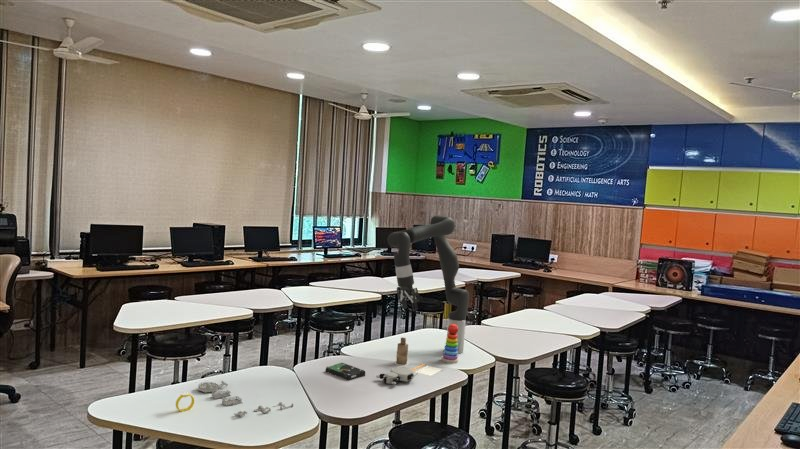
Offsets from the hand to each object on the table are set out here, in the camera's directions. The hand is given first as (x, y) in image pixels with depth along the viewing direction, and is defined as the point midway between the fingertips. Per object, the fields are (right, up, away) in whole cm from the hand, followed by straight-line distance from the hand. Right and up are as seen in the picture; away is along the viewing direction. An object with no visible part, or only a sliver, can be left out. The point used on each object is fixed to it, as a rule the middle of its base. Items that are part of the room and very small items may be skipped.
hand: (410, 309), depth 245 cm
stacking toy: (+20, -29, +17) cm, 39 cm away
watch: (-79, -25, -61) cm, 103 cm away
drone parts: (-63, -26, -46) cm, 82 cm away
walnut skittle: (-4, -27, +8) cm, 28 cm away
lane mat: (+2, -28, +4) cm, 28 cm away
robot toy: (-6, -29, -16) cm, 33 cm away
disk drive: (-29, -27, -11) cm, 41 cm away
